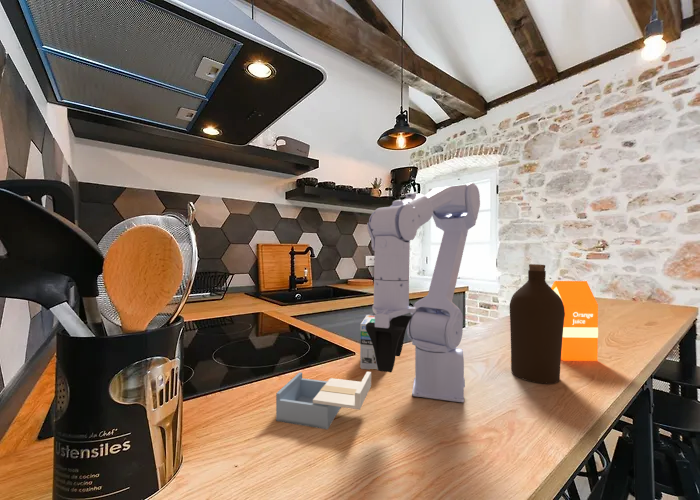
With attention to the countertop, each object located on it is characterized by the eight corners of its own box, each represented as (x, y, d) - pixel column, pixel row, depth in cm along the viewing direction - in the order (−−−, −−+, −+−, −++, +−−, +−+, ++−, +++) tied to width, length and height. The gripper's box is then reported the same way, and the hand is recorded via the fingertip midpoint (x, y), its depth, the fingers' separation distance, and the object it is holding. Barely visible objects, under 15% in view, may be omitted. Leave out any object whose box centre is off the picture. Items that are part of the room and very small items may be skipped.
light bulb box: (387, 372, 72) (388, 325, 72) (359, 369, 73) (359, 324, 73) (391, 356, 82) (391, 315, 82) (366, 354, 84) (366, 314, 84)
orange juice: (598, 361, 79) (598, 282, 79) (563, 360, 79) (563, 282, 79) (576, 350, 87) (577, 279, 87) (544, 350, 87) (545, 279, 87)
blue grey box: (343, 402, 58) (343, 377, 58) (327, 429, 49) (327, 400, 49) (299, 395, 60) (299, 372, 60) (276, 420, 51) (276, 393, 51)
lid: (371, 385, 56) (371, 371, 56) (359, 409, 48) (359, 393, 48) (330, 380, 58) (330, 367, 58) (312, 402, 50) (312, 387, 50)
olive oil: (524, 385, 65) (527, 265, 64) (499, 365, 75) (501, 262, 75) (575, 385, 65) (578, 266, 65) (542, 366, 75) (545, 263, 75)
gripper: (410, 284, 43) (409, 383, 43) (420, 277, 57) (419, 352, 56) (361, 282, 45) (359, 376, 45) (382, 275, 59) (381, 347, 59)
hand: (390, 362), depth 51 cm, fingers open, 7 cm apart
